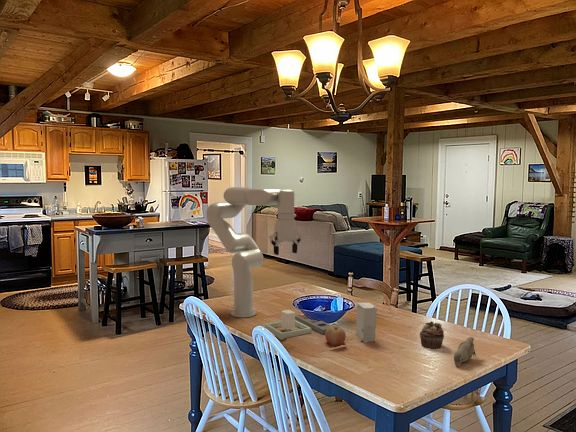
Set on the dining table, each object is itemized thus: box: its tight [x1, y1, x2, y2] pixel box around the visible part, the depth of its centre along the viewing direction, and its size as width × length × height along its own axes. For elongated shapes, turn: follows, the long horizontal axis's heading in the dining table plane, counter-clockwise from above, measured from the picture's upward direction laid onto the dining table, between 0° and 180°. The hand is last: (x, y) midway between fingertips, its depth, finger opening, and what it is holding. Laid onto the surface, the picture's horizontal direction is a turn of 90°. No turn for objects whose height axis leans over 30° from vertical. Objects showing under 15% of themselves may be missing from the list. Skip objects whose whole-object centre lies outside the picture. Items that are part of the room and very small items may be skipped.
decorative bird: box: [453, 336, 477, 368], centre depth 179 cm, size 5×16×8 cm, turn 141°
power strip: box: [295, 313, 332, 335], centre depth 220 cm, size 31×7×4 cm, turn 31°
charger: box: [280, 309, 296, 332], centre depth 209 cm, size 5×4×9 cm
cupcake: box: [419, 320, 445, 350], centre depth 195 cm, size 10×10×10 cm
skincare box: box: [355, 302, 378, 343], centre depth 202 cm, size 8×6×15 cm
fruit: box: [324, 324, 347, 348], centre depth 194 cm, size 8×8×8 cm
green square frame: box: [264, 320, 312, 341], centre depth 210 cm, size 15×15×3 cm
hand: (285, 253), depth 219 cm, fingers open, 9 cm apart
